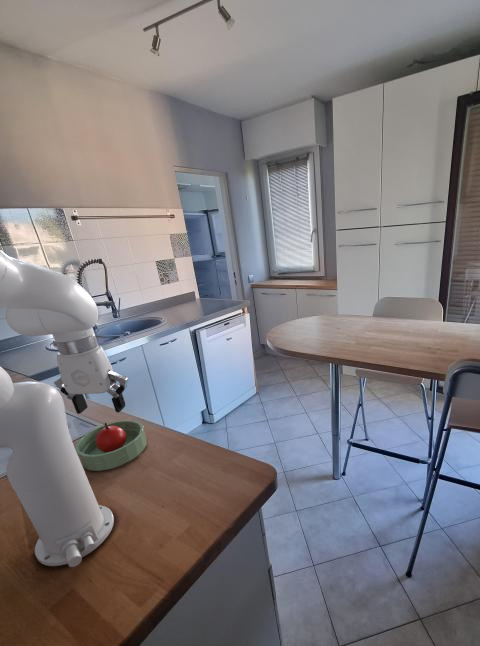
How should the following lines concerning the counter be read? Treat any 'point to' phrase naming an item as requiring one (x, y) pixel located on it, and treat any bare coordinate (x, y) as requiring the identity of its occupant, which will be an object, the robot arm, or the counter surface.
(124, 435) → the apple
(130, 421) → the bowl
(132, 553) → the counter surface
